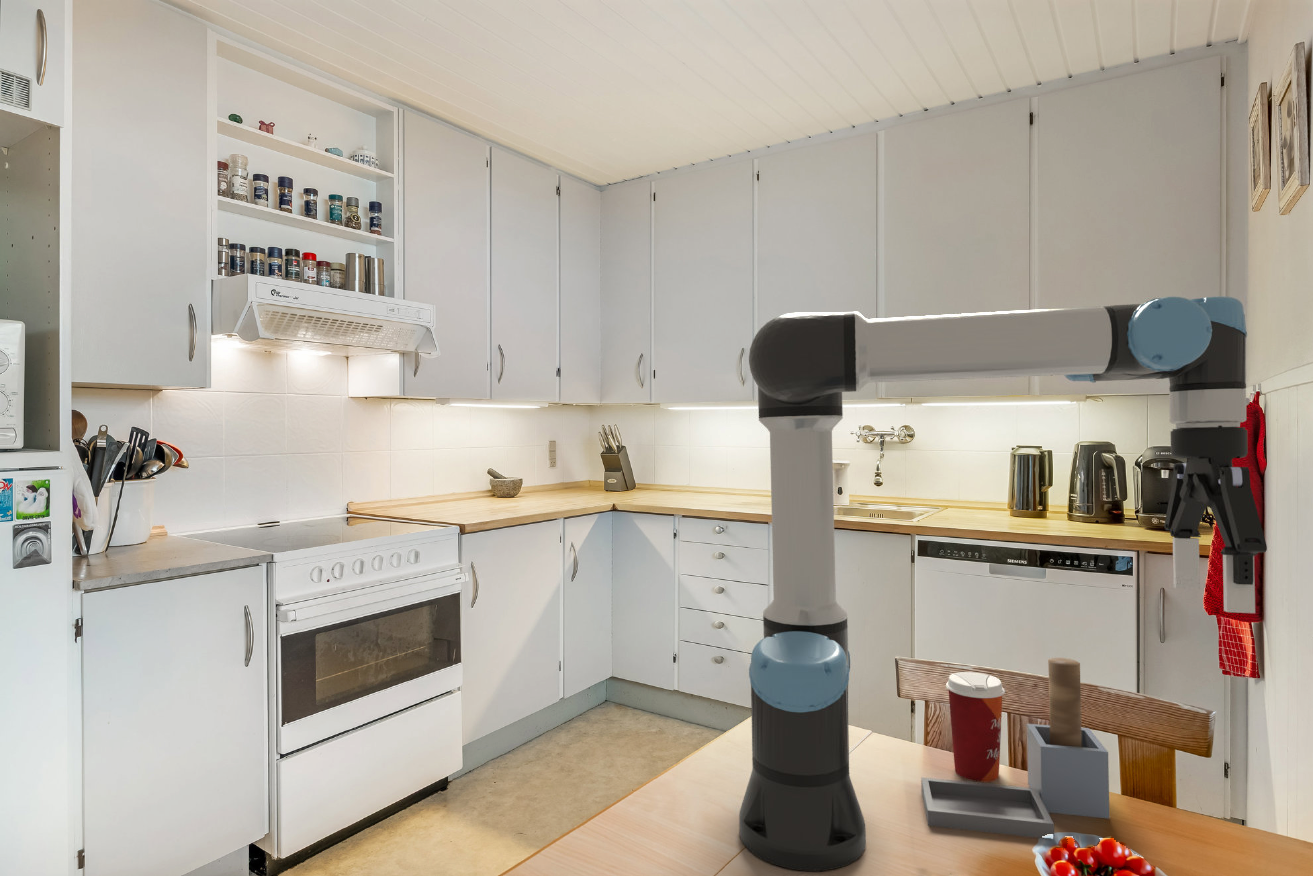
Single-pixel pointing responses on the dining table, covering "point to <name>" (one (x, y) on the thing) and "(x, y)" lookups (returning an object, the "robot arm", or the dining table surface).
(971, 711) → the paper cup
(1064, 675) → the dowel
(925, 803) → the tray
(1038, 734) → the open grey box
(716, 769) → the dining table surface
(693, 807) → the dining table surface
